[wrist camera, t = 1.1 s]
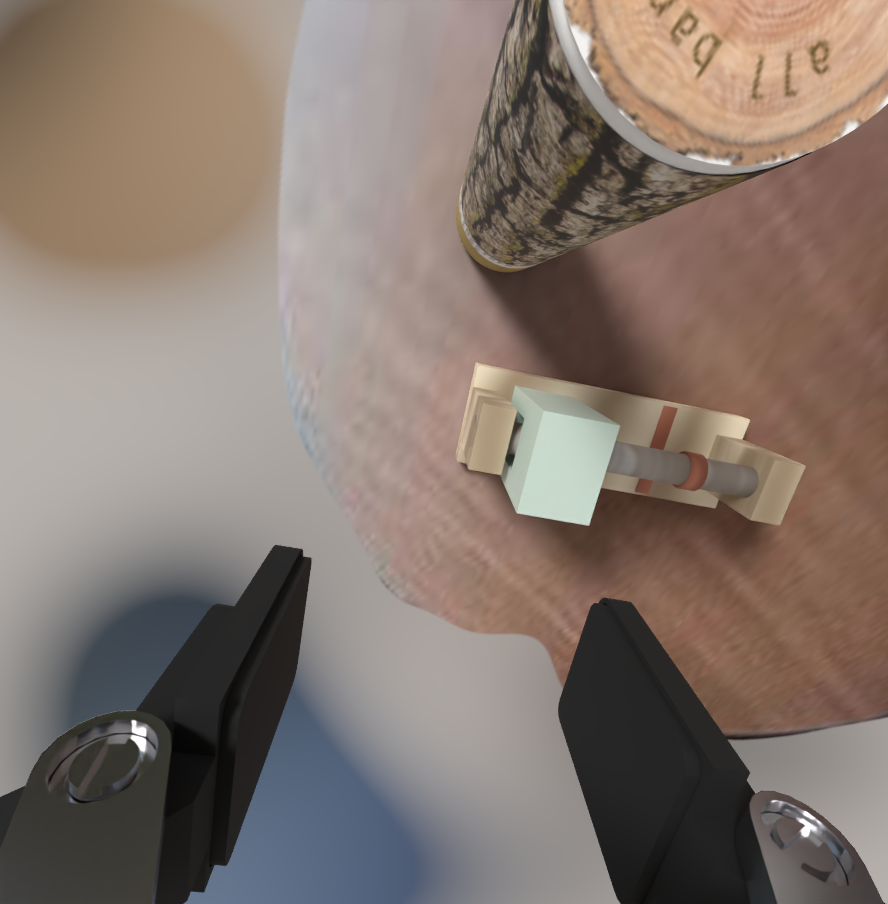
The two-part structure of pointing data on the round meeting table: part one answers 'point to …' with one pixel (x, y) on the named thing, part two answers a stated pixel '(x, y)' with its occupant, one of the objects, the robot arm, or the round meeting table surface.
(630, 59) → the paper tube
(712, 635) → the round meeting table surface
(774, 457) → the rod stand
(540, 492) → the collar
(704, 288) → the round meeting table surface
